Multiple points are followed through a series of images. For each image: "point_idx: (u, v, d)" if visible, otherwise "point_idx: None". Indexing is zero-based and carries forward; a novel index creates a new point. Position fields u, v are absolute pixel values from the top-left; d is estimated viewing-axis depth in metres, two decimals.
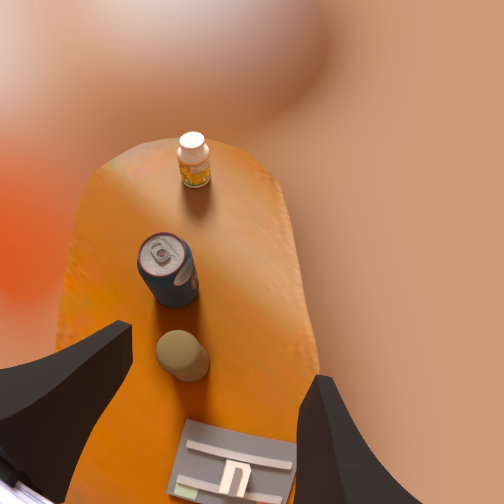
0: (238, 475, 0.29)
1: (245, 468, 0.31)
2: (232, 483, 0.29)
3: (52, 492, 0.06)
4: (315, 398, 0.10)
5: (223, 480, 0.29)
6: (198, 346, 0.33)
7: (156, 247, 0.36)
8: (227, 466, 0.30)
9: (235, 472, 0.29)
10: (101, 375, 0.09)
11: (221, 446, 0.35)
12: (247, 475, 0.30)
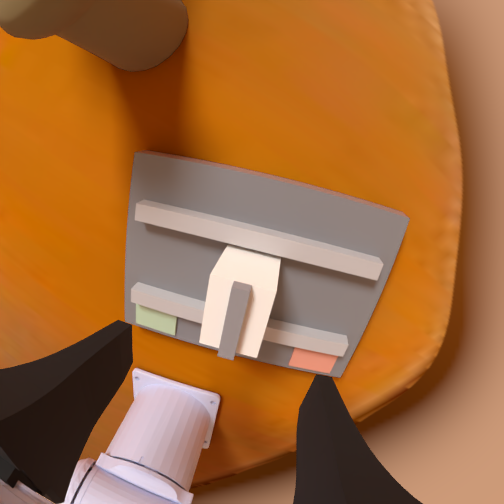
0: (240, 307, 0.13)
1: (263, 283, 0.14)
2: (226, 327, 0.14)
3: (52, 492, 0.06)
4: (315, 398, 0.10)
5: (206, 315, 0.14)
6: None
7: None
8: (213, 278, 0.14)
9: (232, 299, 0.13)
10: (101, 376, 0.09)
11: (215, 211, 0.17)
12: (266, 305, 0.14)
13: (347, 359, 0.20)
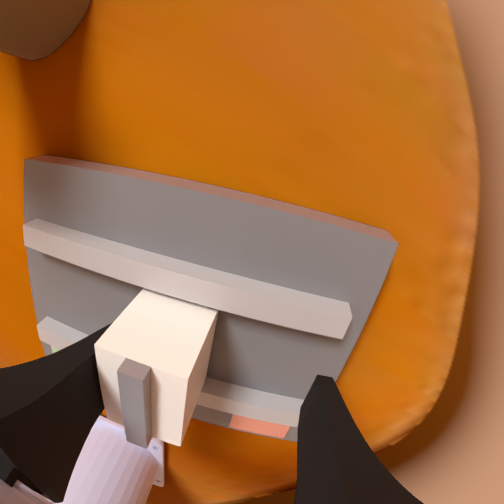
0: (136, 397, 0.08)
1: (171, 361, 0.08)
2: (126, 415, 0.08)
3: (51, 491, 0.06)
4: (316, 398, 0.10)
5: (105, 392, 0.09)
6: None
7: None
8: (99, 350, 0.08)
9: (122, 385, 0.08)
10: None
11: (110, 235, 0.12)
12: (178, 393, 0.08)
13: None
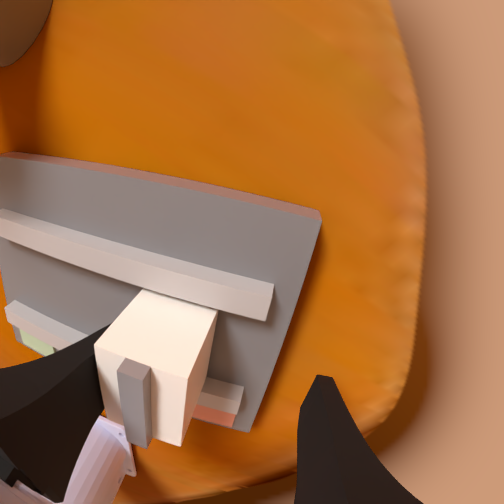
0: (136, 397, 0.08)
1: (171, 361, 0.08)
2: (126, 415, 0.08)
3: (51, 491, 0.06)
4: (316, 398, 0.10)
5: (105, 392, 0.09)
6: None
7: None
8: (98, 350, 0.08)
9: (122, 385, 0.08)
10: None
11: (58, 220, 0.12)
12: (177, 393, 0.08)
13: (252, 414, 0.14)
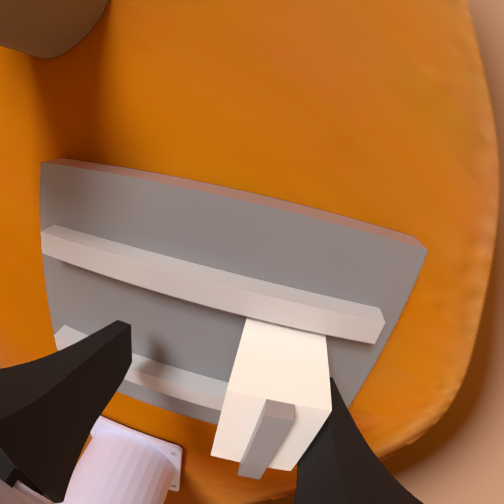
0: (276, 436, 0.08)
1: (309, 395, 0.08)
2: (252, 453, 0.08)
3: (51, 491, 0.06)
4: None
5: (221, 432, 0.09)
6: None
7: None
8: (231, 394, 0.08)
9: (263, 427, 0.07)
10: (100, 375, 0.09)
11: (137, 242, 0.11)
12: (314, 425, 0.08)
13: None
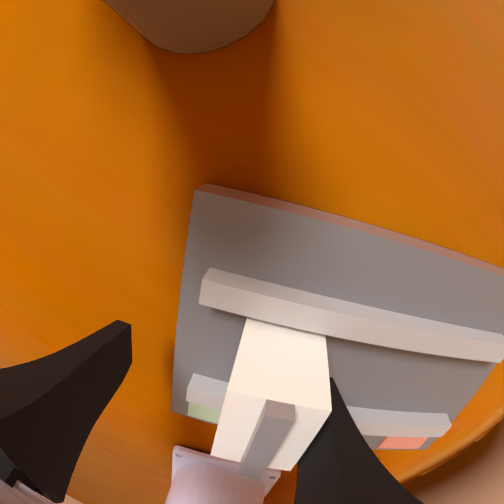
0: (276, 436, 0.08)
1: (309, 395, 0.08)
2: (252, 453, 0.08)
3: (51, 492, 0.06)
4: None
5: (221, 432, 0.09)
6: None
7: None
8: (231, 394, 0.08)
9: (263, 427, 0.07)
10: (100, 375, 0.09)
11: (328, 291, 0.11)
12: (314, 425, 0.08)
13: None
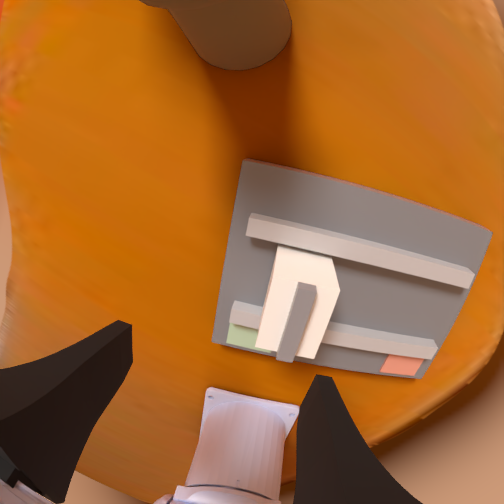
0: (305, 309, 0.13)
1: (325, 283, 0.14)
2: (288, 330, 0.13)
3: (51, 492, 0.06)
4: (315, 398, 0.10)
5: (266, 318, 0.14)
6: None
7: None
8: (276, 280, 0.13)
9: (297, 300, 0.13)
10: (101, 376, 0.09)
11: (332, 227, 0.16)
12: (329, 305, 0.13)
13: (430, 361, 0.19)
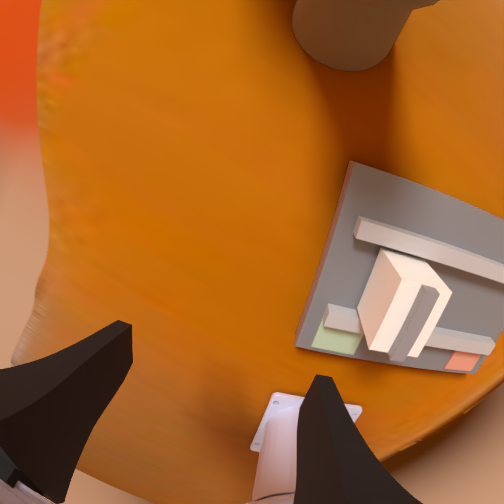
0: (427, 309, 0.12)
1: (438, 285, 0.13)
2: (409, 330, 0.13)
3: (52, 492, 0.06)
4: (315, 398, 0.10)
5: (386, 320, 0.13)
6: None
7: None
8: (403, 283, 0.13)
9: (422, 302, 0.12)
10: (101, 376, 0.09)
11: (427, 232, 0.16)
12: (441, 305, 0.13)
13: (484, 357, 0.18)
